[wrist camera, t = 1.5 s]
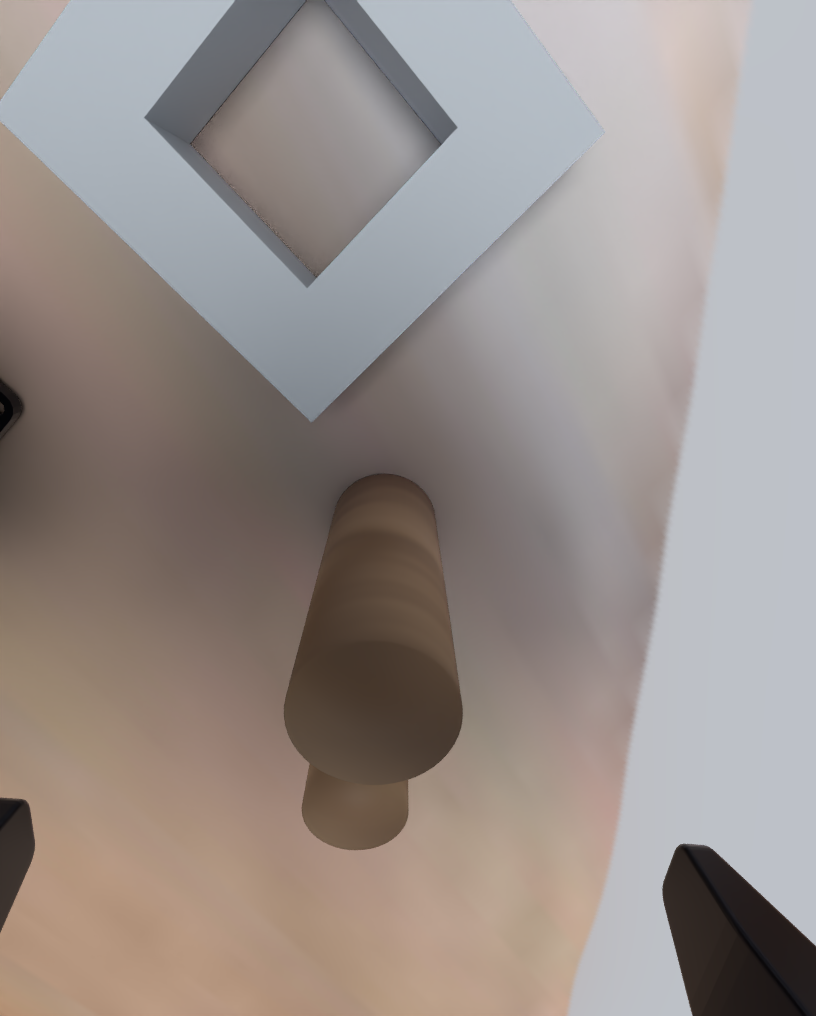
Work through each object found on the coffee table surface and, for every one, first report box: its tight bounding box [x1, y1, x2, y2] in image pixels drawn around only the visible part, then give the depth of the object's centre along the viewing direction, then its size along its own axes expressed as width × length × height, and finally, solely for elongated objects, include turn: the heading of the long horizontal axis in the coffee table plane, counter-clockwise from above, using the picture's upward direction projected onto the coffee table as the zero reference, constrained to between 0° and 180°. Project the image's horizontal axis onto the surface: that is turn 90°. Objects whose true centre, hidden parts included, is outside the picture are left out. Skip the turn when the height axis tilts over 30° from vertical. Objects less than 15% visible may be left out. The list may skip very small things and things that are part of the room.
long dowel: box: [284, 474, 463, 785], centre depth 15 cm, size 3×3×9 cm
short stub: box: [302, 764, 408, 850], centre depth 20 cm, size 3×3×4 cm
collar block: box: [0, 0, 605, 423], centre depth 14 cm, size 9×9×3 cm
